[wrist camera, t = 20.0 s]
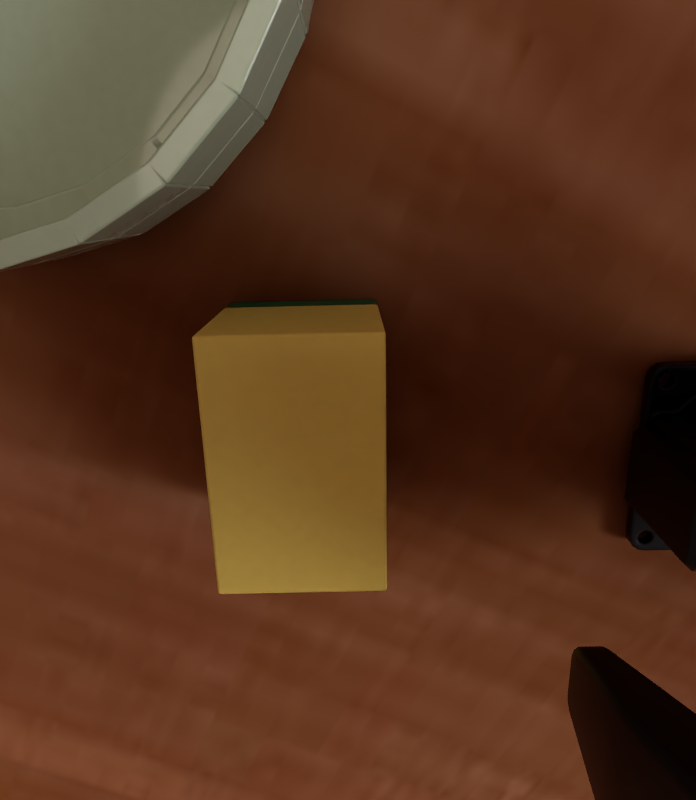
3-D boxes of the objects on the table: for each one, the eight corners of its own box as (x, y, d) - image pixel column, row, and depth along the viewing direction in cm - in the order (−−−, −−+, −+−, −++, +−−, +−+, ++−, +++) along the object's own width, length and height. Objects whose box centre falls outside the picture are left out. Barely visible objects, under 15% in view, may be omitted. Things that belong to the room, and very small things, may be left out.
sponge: (376, 298, 19) (385, 332, 14) (378, 503, 21) (386, 591, 16) (230, 302, 19) (190, 336, 14) (246, 506, 21) (217, 595, 16)
